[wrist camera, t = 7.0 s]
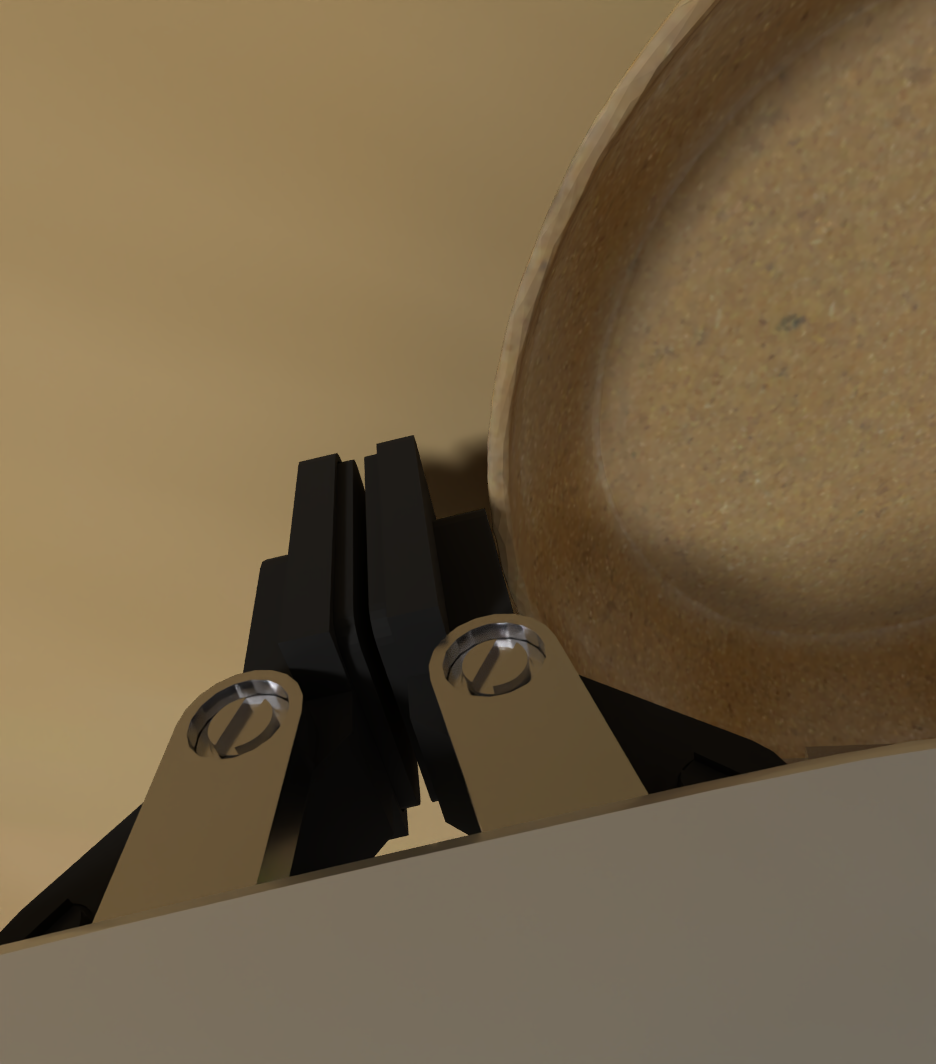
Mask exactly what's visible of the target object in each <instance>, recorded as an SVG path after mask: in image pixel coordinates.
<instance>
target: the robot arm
mask: <svg viewBox="0 0 936 1064" xmlns="http://www.w3.org/2000/svg"><path fill="white" fill-rule="evenodd" d="M364 464H365V489H364V486H363V483H362V480H361V477H360V473H359V470H358V467H357V465H356V462H355V461H354V460H349V461H345V462H342V461H341V459H340V457H339V455H338V454H337V453H336V454H331V455H327V456H323V457H319V458H314V459H310V460H306V461H302V462H299V465H298V474H297V482H296V491H295V499H294V508H293V517H292V525H291V534H290V542H289V551H288V555H284V556H280V557H276V558H272V559H267V560H265V561H263V562H262V565H261V568H260V573H259V579H258V585H257V591H256V597H255V604H254V610H253V616H252V622H251V628H250V634H249V640H248V646H247V652H246V658H245V664H244V670H243V673H241V674H237V675H234V676H232V677H230V678H228V679H225V680H223V681H221V682H219V683H217V684H215V685H214V686H212V687H211V688H209V689H208V690H206V691H205V692H204V693H202V694H201V695H199V696H198V697H197V698H196V699H195V700H194V701H193V703H192V704H191V705H190V706H189V707H188V708H187V709H186V710H185V711H184V713H183V715H182V716H181V718H180V720H179V721H178V723H177V725H176V727H175V729H174V732H173V734H172V736H171V739H170V741H169V743H168V746H167V748H166V750H165V753H164V755H163V757H162V760H161V762H160V765H159V767H158V769H157V772H156V774H155V776H154V779H153V781H152V783H151V786H150V788H149V790H148V793H147V795H146V797H145V800H144V802H143V803H142V804H141V805H140V806H139V807H138V808H137V809H136V810H134V811H133V812H132V813H131V814H130V815H129V816H128V817H126V818H125V819H124V820H123V821H122V822H121V823H120V824H119V825H117V826H116V827H115V828H114V829H113V830H112V831H111V832H109V833H108V834H107V835H106V836H105V837H104V838H103V839H102V840H100V841H99V842H98V843H97V844H96V845H95V846H94V847H92V848H91V849H90V850H89V851H88V852H87V853H86V854H84V855H83V856H82V857H81V858H80V859H79V860H78V861H77V862H75V863H74V864H73V865H72V866H71V867H70V868H69V869H67V870H66V871H65V872H64V873H63V874H62V875H61V876H60V877H58V878H57V879H56V880H55V881H54V882H53V883H52V884H50V885H49V886H48V887H47V888H46V889H45V890H44V891H43V892H41V893H40V894H39V895H38V896H37V897H36V898H35V899H33V900H32V901H31V902H30V903H29V904H28V905H27V906H26V907H24V908H23V909H22V910H21V911H20V912H19V913H18V914H17V915H16V916H15V917H14V918H13V919H12V920H11V921H10V922H9V924H8V925H7V926H6V927H5V928H4V929H3V930H2V931H1V932H0V1064H936V738H934V739H924V740H915V741H908V742H903V743H898V744H871V745H843V746H814V747H805V758H783V759H781V758H780V757H779V756H778V755H777V754H776V753H775V752H773V751H772V750H770V749H768V748H766V747H764V746H762V745H760V744H758V743H756V742H755V741H753V740H750V739H748V738H745V737H742V736H740V735H737V734H734V733H732V732H729V731H726V730H724V729H721V728H719V727H716V726H713V725H711V724H708V723H705V722H703V721H700V720H697V719H695V718H692V717H689V716H687V715H684V714H682V713H679V712H676V711H674V710H671V709H668V708H666V707H663V706H660V705H658V704H655V703H652V702H650V701H647V700H645V699H642V698H639V697H637V696H634V695H631V694H629V693H626V692H623V691H621V690H618V689H615V688H613V687H610V686H608V685H605V684H602V683H600V682H597V681H594V680H592V679H589V678H586V677H584V676H581V675H578V673H577V671H576V670H575V668H574V666H573V665H572V663H571V661H570V660H569V658H568V656H567V654H566V653H565V651H564V649H563V648H562V646H561V644H560V642H559V641H558V639H557V637H556V636H555V635H554V634H553V633H552V631H551V630H550V629H549V628H548V627H547V626H546V625H545V624H543V623H541V622H539V621H537V620H535V619H533V618H531V617H527V616H522V615H517V614H513V610H512V606H511V603H510V599H509V595H508V592H507V588H506V584H505V581H504V577H503V573H502V570H501V566H500V562H499V558H498V555H497V551H496V547H495V544H494V540H493V536H492V533H491V529H490V525H489V522H488V518H487V514H486V511H485V508H484V509H480V510H476V511H471V512H467V513H463V514H459V515H454V516H450V517H446V518H442V519H437V520H436V516H435V512H434V509H433V505H432V501H431V497H430V493H429V490H428V486H427V482H426V478H425V474H424V471H423V467H422V463H421V459H420V455H419V452H418V448H417V444H416V441H415V438H414V435H412V436H408V437H403V438H399V439H395V440H391V441H387V442H382V443H378V444H377V454H375V455H371V456H367V457H364ZM417 762H418V764H417ZM418 765H419V767H420V770H421V773H422V776H423V779H424V782H425V784H426V787H427V790H428V793H429V796H430V798H431V801H432V802H435V801H439V804H440V807H441V810H442V813H443V816H444V819H445V822H447V823H448V824H450V825H452V826H454V827H455V828H457V829H459V830H461V831H462V832H464V833H466V834H468V836H464V837H459V838H455V839H451V840H446V841H442V842H438V843H434V844H429V845H425V846H421V847H416V848H412V849H408V850H403V851H399V852H395V853H390V854H386V855H382V856H377V857H374V856H375V855H376V854H377V853H378V852H379V851H380V849H381V848H382V847H383V846H384V845H385V844H386V842H387V841H388V840H390V839H394V838H399V837H403V836H407V835H409V834H408V820H407V808H409V807H414V806H418V805H420V801H421V800H420V787H419V775H418Z"/></svg>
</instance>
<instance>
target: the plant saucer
mask: <svg viewBox="0 0 936 1064" xmlns="http://www.w3.org/2000/svg"><path fill="white" fill-rule="evenodd" d="M491 404H492V411H491V418H490V425H489V432H488V442H487V448H488V458H487V461H488V475H487V478H488V490H489V499H490V507H491V515H492V527H493V532H494V534H495V536H496V540H497V545H498V551H499V557H500V561H501V565H502V569H503V573H504V576H505V579H506V582H507V584H508V587H509V590H510V593H511V595H512V598H513V600H514V603H515V605H516V607H517V610H518V613H519V615H522V616H527V617H531V618H533V619H535V620H537V621H539V622H541V623H543V624H545V625H546V626H547V627H548V628H549V629H550V630H551V631H552V633H553V634H554V635H555V636H556V637H557V639H558V641H559V642H560V644H561V646H562V648H563V649H564V651H565V653H566V654H567V656H568V658H569V660H570V661H571V663H572V665H573V666H574V668H575V670H576V671H577V673H578V675H581V676H584V677H586V678H589V679H592V680H594V681H597V682H600V683H602V684H605V685H608V686H610V687H613V688H615V689H618V690H621V691H623V692H626V693H629V694H631V695H634V696H637V697H639V698H642V699H645V700H647V701H650V702H652V703H655V704H658V705H660V706H663V707H666V708H668V709H671V710H674V711H676V712H679V713H682V714H684V715H687V716H689V717H692V718H695V719H697V720H700V721H703V722H705V723H708V724H711V725H713V726H716V727H719V728H721V729H724V730H726V731H729V732H732V733H734V734H737V735H740V736H742V737H745V738H748V739H750V740H753V741H755V742H756V743H758V744H760V745H762V746H764V747H766V748H768V749H770V750H772V751H773V752H775V753H776V754H777V755H778V756H779V757H780V758H781V759H783V758H805V747H814V746H843V745H871V744H898V743H903V742H908V741H915V740H924V739H934V738H936V0H680V1H679V2H678V4H677V5H676V6H675V8H674V9H673V10H672V12H671V13H670V14H669V16H668V17H667V18H666V19H665V21H664V22H663V23H662V25H661V26H660V27H659V28H658V30H657V31H656V32H655V34H654V35H653V36H652V37H651V39H650V40H649V41H648V43H647V44H646V45H645V46H644V48H643V49H642V51H641V52H640V53H639V55H638V56H637V58H636V59H635V60H634V62H633V63H632V65H631V66H630V67H629V69H628V70H627V72H626V73H625V75H624V76H623V77H622V79H621V80H620V82H619V83H618V85H617V86H616V88H615V89H614V91H613V92H612V94H611V96H610V97H609V99H608V101H607V102H606V104H605V105H604V107H603V108H602V110H601V111H600V113H599V114H598V115H597V117H596V119H595V121H594V122H593V124H592V126H591V128H590V129H589V131H588V133H587V134H586V136H585V138H584V140H583V142H582V143H581V145H580V147H579V149H578V150H577V152H576V154H575V156H574V158H573V160H572V162H571V164H570V166H569V168H568V170H567V172H566V174H565V176H564V178H563V180H562V182H561V185H560V187H559V189H558V191H557V193H556V195H555V198H554V200H553V202H552V204H551V206H550V209H549V211H548V213H547V215H546V218H545V220H544V223H543V226H542V228H541V231H540V233H539V236H538V238H537V241H536V243H535V246H534V248H533V251H532V253H531V256H530V258H529V261H528V263H527V266H526V269H525V272H524V275H523V277H522V280H521V283H520V286H519V289H518V292H517V295H516V298H515V301H514V304H513V308H512V311H511V314H510V318H509V321H508V325H507V329H506V333H505V337H504V342H503V347H502V352H501V356H500V361H499V365H498V369H497V373H496V377H495V386H494V391H493V395H492V400H491Z"/></svg>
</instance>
